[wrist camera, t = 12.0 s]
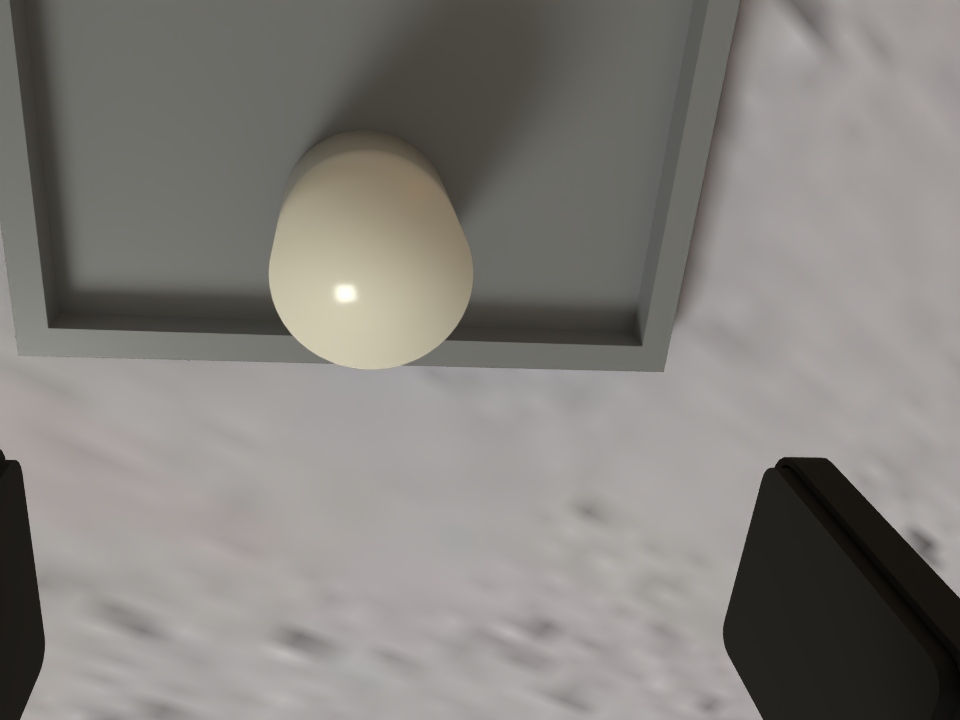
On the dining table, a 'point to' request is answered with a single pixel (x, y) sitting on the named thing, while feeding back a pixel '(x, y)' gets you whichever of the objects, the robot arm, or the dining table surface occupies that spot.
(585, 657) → the dining table surface
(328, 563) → the dining table surface
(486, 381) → the dining table surface
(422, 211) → the pebble
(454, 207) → the parts tray
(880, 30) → the dining table surface
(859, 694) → the robot arm
